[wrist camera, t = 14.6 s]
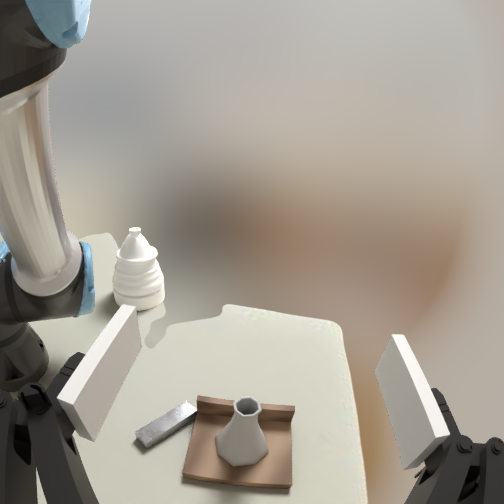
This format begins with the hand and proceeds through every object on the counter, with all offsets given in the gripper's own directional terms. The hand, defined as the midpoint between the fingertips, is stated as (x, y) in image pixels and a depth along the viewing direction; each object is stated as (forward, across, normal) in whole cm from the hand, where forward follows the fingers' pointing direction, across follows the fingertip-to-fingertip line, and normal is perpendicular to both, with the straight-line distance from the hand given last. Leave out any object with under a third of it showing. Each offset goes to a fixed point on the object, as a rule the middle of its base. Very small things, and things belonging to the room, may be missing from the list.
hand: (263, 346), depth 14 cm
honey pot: (+46, -28, -30) cm, 62 cm away
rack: (+10, 0, -29) cm, 31 cm away
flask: (+10, 0, -28) cm, 30 cm away
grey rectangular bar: (+12, -11, -30) cm, 34 cm away
